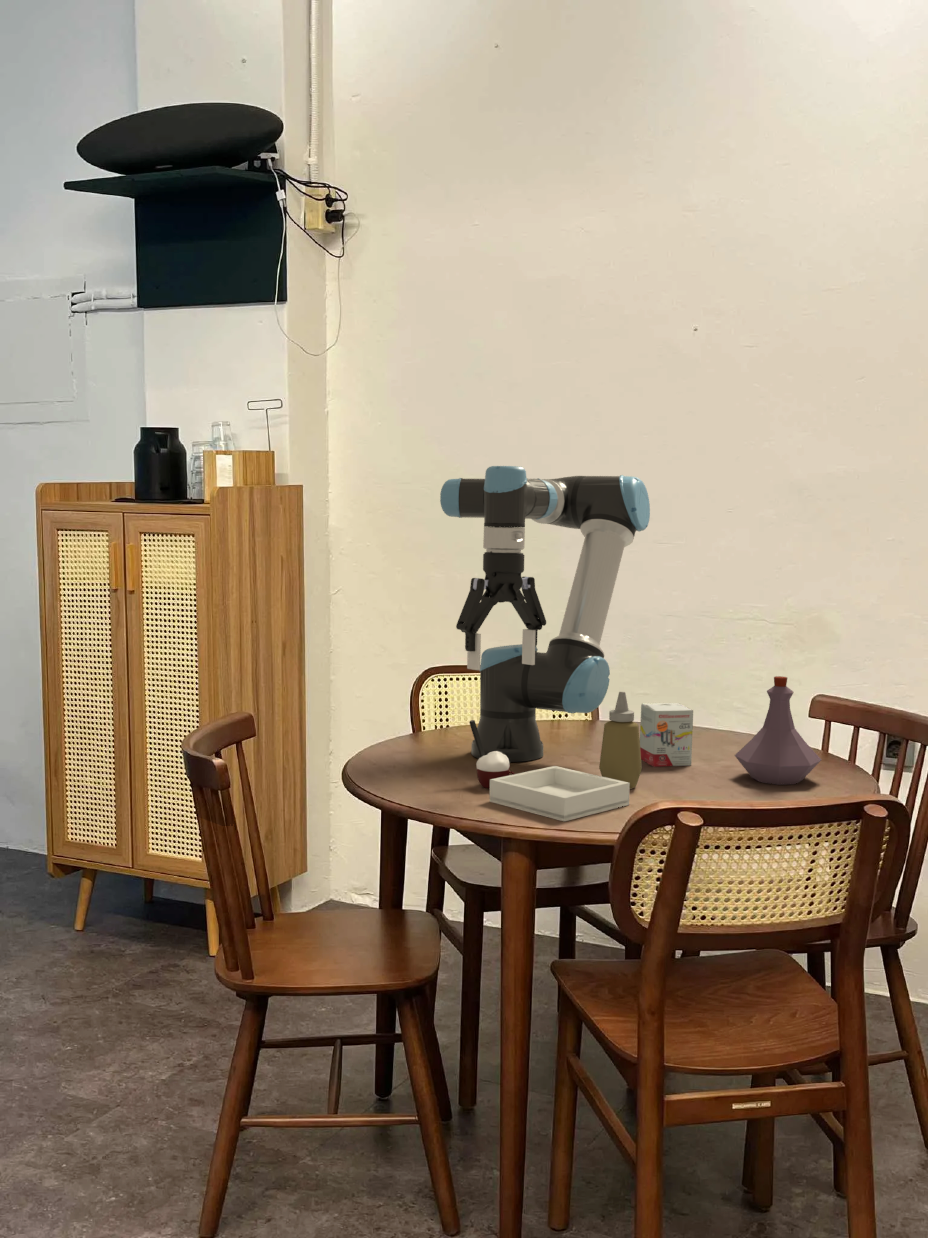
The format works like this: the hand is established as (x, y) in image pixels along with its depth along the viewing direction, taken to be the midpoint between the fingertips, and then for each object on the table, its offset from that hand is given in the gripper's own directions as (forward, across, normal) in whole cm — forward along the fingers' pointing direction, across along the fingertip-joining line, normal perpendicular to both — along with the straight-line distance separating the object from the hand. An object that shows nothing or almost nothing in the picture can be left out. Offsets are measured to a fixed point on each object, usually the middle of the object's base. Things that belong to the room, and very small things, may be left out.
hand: (501, 667), depth 230 cm
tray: (+23, +2, -14) cm, 27 cm away
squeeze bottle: (+23, +20, -12) cm, 33 cm away
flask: (+23, +48, -27) cm, 60 cm away
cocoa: (+23, +1, +3) cm, 23 cm away
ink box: (+22, +43, -3) cm, 49 cm away
